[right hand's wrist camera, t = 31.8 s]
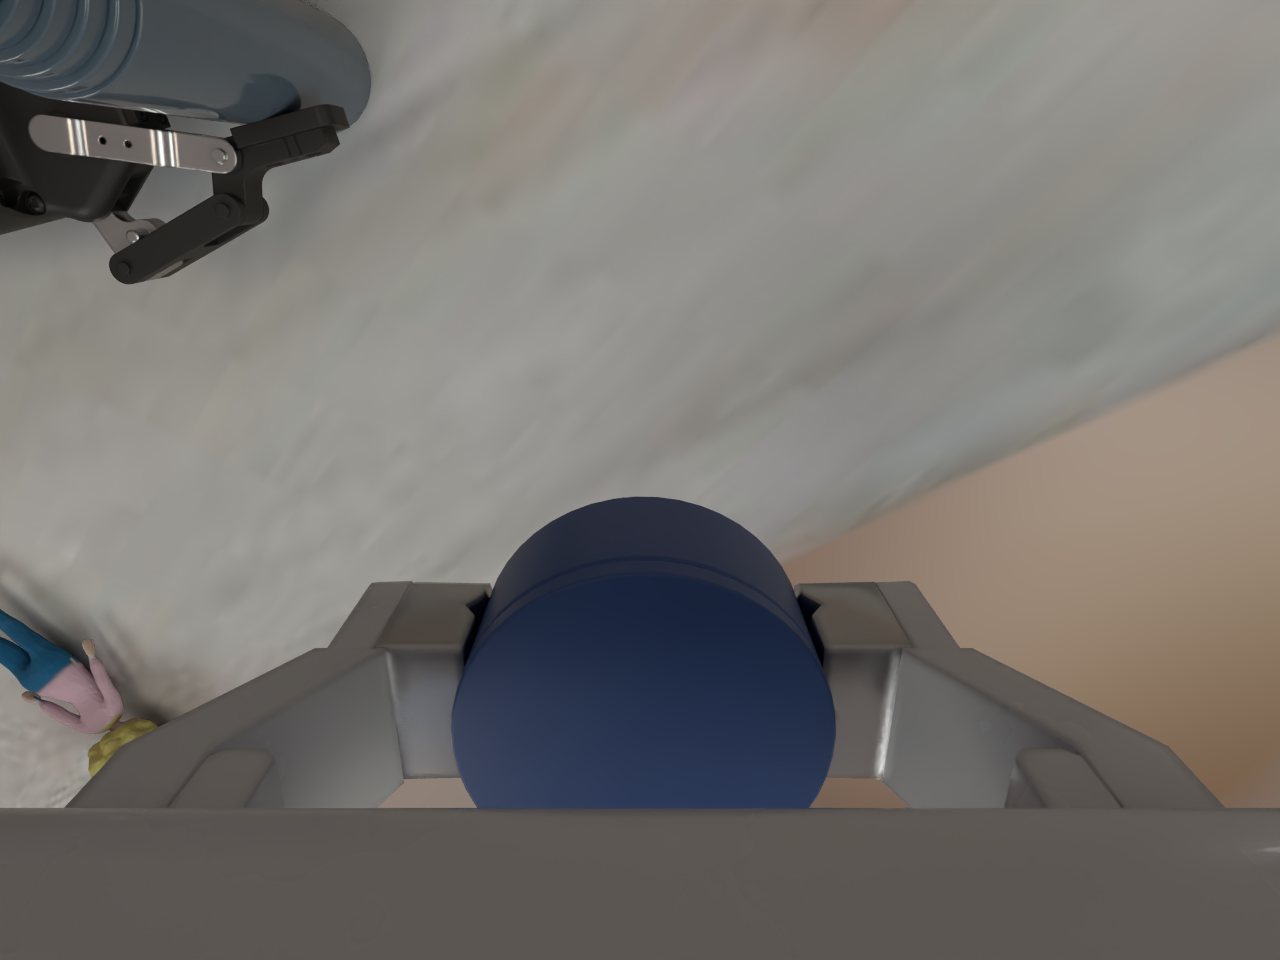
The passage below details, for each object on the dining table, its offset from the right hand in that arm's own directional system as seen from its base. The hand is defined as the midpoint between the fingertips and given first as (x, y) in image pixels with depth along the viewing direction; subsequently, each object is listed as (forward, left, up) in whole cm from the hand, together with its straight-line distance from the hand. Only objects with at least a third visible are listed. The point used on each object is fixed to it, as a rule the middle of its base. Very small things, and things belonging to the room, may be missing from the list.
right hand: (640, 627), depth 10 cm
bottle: (+17, -6, -30) cm, 34 cm away
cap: (0, 0, +2) cm, 2 cm away
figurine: (+27, +29, -30) cm, 50 cm away
